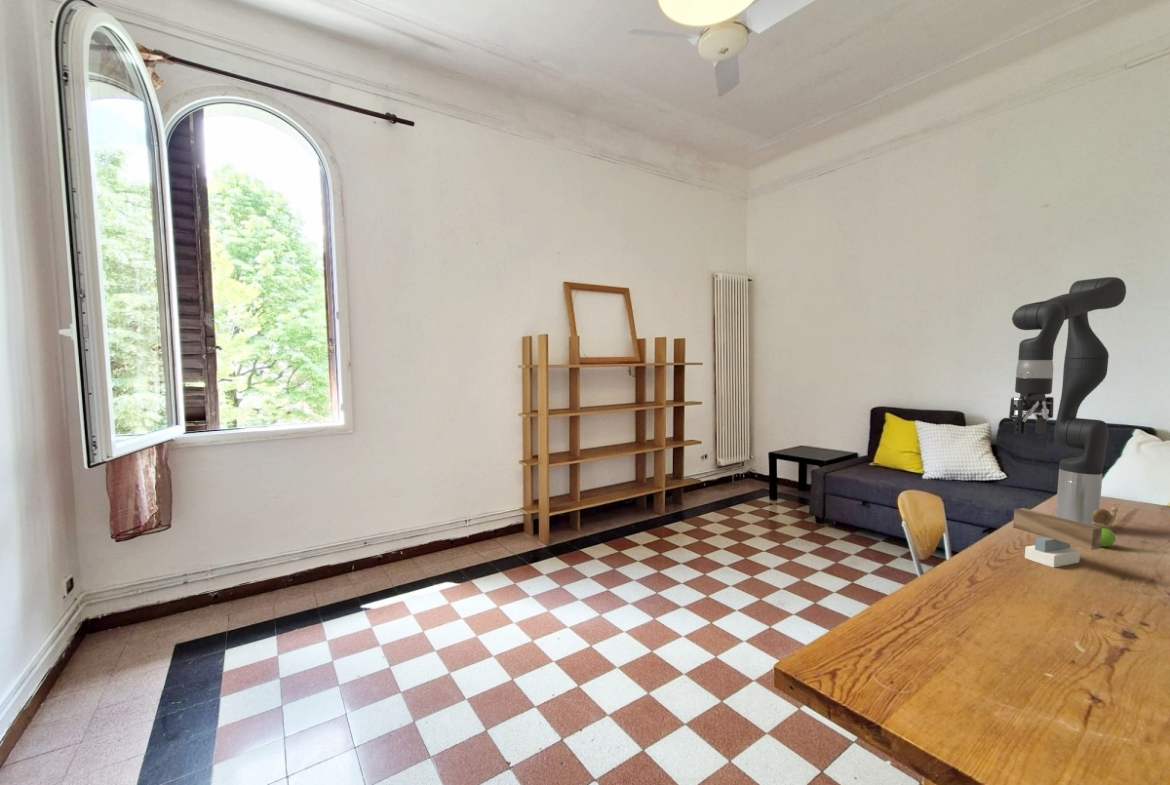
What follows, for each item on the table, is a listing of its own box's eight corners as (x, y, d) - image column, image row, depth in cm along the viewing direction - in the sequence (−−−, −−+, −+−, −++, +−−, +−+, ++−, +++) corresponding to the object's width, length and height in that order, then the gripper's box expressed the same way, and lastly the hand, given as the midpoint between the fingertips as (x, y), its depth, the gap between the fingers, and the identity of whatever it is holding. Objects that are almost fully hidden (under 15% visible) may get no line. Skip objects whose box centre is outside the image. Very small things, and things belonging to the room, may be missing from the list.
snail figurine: (1124, 550, 129) (1128, 506, 128) (1100, 549, 129) (1103, 506, 129) (1103, 542, 135) (1106, 500, 134) (1080, 542, 135) (1083, 500, 134)
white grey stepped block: (1050, 553, 127) (1051, 531, 126) (1079, 562, 121) (1081, 539, 121) (1024, 557, 124) (1026, 535, 123) (1053, 567, 118) (1055, 543, 118)
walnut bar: (1021, 526, 130) (1023, 508, 130) (1100, 548, 115) (1102, 528, 114) (1013, 527, 129) (1014, 509, 129) (1091, 550, 114) (1092, 529, 113)
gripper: (1034, 375, 139) (1030, 431, 141) (1001, 376, 135) (997, 433, 136) (1067, 376, 132) (1063, 435, 133) (1033, 377, 128) (1028, 437, 129)
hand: (1030, 434), depth 135 cm, fingers open, 8 cm apart
